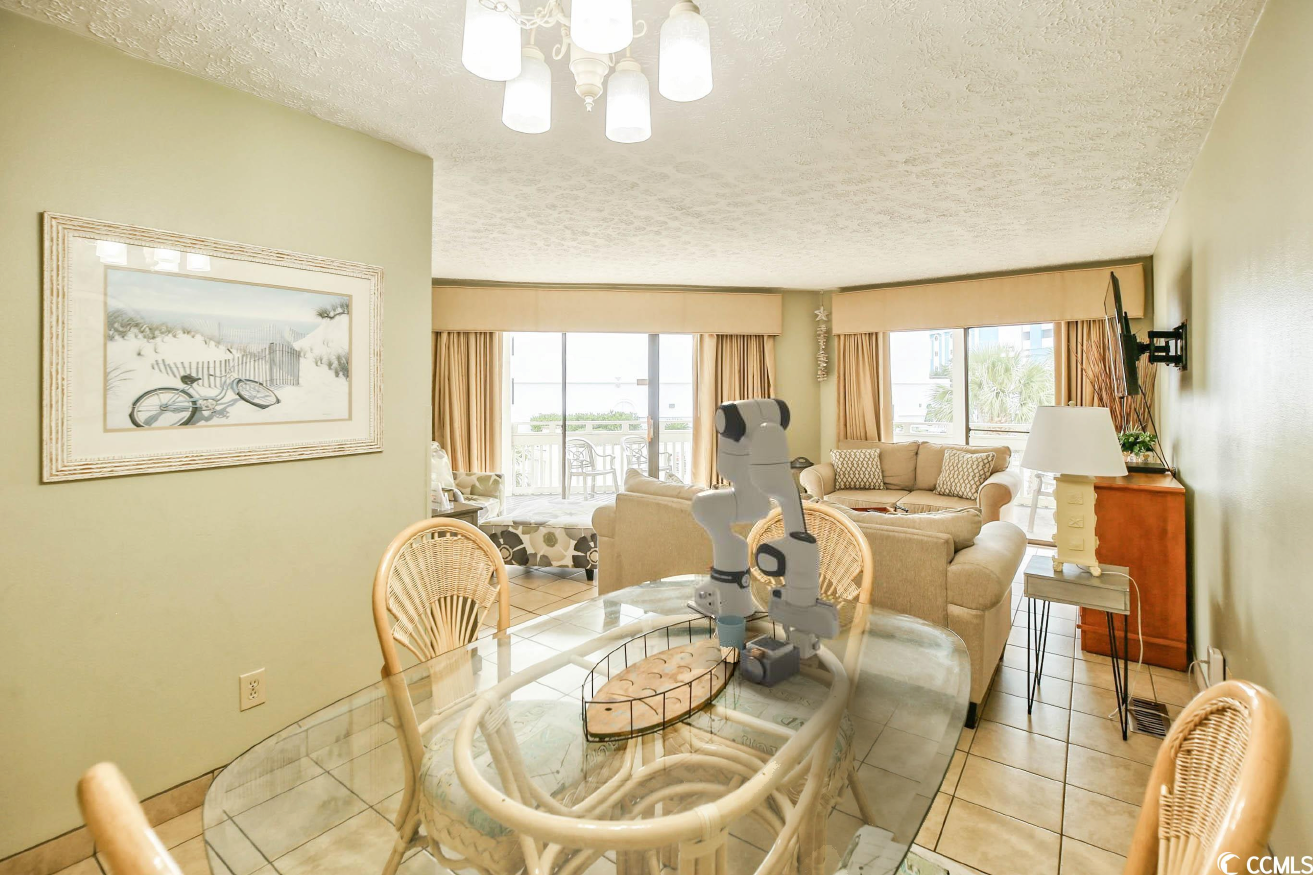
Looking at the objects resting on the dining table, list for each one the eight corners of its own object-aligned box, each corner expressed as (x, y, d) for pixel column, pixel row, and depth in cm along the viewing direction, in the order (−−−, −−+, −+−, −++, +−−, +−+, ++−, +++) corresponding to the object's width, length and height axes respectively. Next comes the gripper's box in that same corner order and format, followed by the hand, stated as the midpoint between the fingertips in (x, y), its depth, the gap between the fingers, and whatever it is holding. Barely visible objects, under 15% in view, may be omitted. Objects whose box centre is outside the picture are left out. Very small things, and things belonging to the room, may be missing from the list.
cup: (736, 668, 155) (736, 627, 154) (711, 660, 160) (710, 621, 159) (751, 657, 161) (751, 618, 160) (726, 650, 166) (726, 612, 165)
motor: (737, 676, 151) (737, 646, 150) (772, 658, 160) (772, 630, 159) (767, 688, 144) (767, 657, 143) (801, 669, 153) (801, 640, 153)
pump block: (789, 653, 163) (789, 631, 163) (803, 646, 168) (803, 624, 167) (805, 659, 160) (805, 636, 159) (819, 651, 164) (819, 629, 163)
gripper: (844, 600, 156) (844, 653, 157) (778, 583, 171) (778, 631, 172) (831, 606, 152) (830, 661, 153) (764, 588, 167) (764, 637, 168)
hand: (802, 645), depth 163 cm, fingers open, 7 cm apart
